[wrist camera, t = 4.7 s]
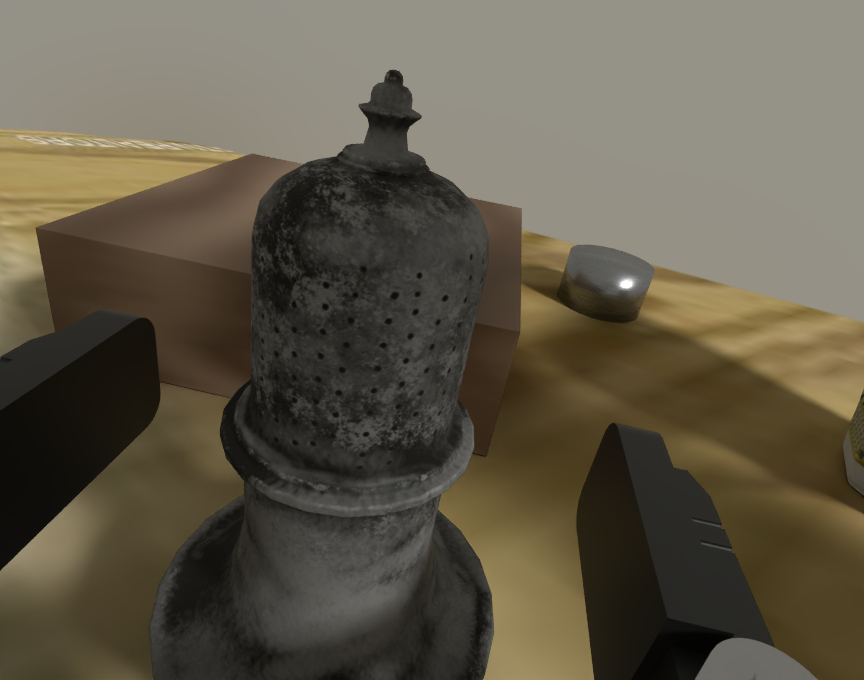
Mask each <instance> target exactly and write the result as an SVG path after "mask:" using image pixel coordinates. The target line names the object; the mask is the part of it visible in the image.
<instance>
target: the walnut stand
mask: <svg viewBox="0 0 864 680" xmlns="http://www.w3.org/2000/svg"><path fill="white" fill-rule="evenodd" d="M302 165H303V164H300V163H295V162H290V161H285V160H280V159H275V158H270V157H265V156H261V155H256V154H250V155H247V156H244V157H241V158H238V159H235V160H232V161H229V162H226V163H223V164H220V165H217V166H215V167H212V168H209V169H206V170H203V171H200V172H197V173H194V174H191V175H188V176H185V177H182V178H179V179H176V180H174V181H171V182H168V183H165V184H162V185H159V186H156V187H153V188H150V189H147V190H144V191H141V192H138V193H136V194H133V195H130V196H127V197H124V198H121V199H118V200H115V201H112V202H109V203H106V204H103V205H100V206H97V207H95V208H92V209H89V210H86V211H83V212H80V213H77V214H74V215H71V216H68V217H65V218H62V219H59V220H57V221H54V222H51V223H48V224H45V225H42V226H39V227H36V233H37V238H38V243H39V249H40V254H41V259H42V265H43V270H44V275H45V281H46V286H47V291H48V297H49V302H50V307H51V312H52V318H53V323H54V328H55V332H58V331H61V330H64V329H66V328H68V327H69V326H71V325H73V324H74V323H76V322H78V321H79V320H81V319H83V318H85V317H86V316H88V315H90V314H91V313H93V312H95V311H97V310H100V309H108V310H112V311H117V312H121V313H126V314H130V315H135V316H139V317H144V318H147V319H149V320H150V321H151V322H152V324H153V326H154V329H155V336H156V347H157V358H158V369H159V381H160V382H165V383H169V384H174V385H178V386H182V387H187V388H191V389H195V390H200V391H204V392H209V393H213V394H217V395H222V396H226V397H230V398H232V396H233V395H234V393H235V392H236V390H238V389H239V388H240V387H241V386H243V385H244V384H245V383H246V382H248V381H249V380H250V379H251V247H252V230H253V225H254V221H255V217H256V213H257V209H258V205H259V201H260V199H261V198H262V197H263V196H264V195H265V193H266V192H267V191H268V190H269V189H270V187H271V186H272V185H273V184H274V183H275V181H276V180H277V179H279V178H280V177H282V176H283V175H285V174H286V173H288V172H290V171H292V170H294V169H296V168H298V167H300V166H302ZM469 199H470V200H471V201H472V202H473V203H474V204H475V206H476V207H477V208H478V210H479V212H480V215H481V217H482V219H483V221H484V223H485V226H486V228H487V230H488V238H489V264H488V268H487V273H486V277H485V282H484V286H483V290H482V295H481V299H480V303H479V308H478V312H477V317H476V321H475V325H474V330H473V334H472V339H471V343H470V347H469V352H468V356H467V361H466V365H465V369H464V374H463V378H462V383H461V387H460V391H459V396H458V400H459V401H460V402H461V403H462V404H463V406H464V407H465V408H466V410H467V412H468V415H469V417H470V419H471V422H472V424H473V426H474V450H473V453H475V454H479V455H484V456H486V455H487V452H488V448H489V444H490V441H491V437H492V434H493V430H494V426H495V423H496V419H497V415H498V412H499V408H500V404H501V401H502V397H503V393H504V390H505V386H506V382H507V379H508V375H509V372H510V368H511V364H512V361H513V357H514V353H515V350H516V346H517V342H518V339H519V335H520V313H521V224H522V209H521V208H517V207H512V206H507V205H502V204H497V203H492V202H487V201H482V200H477V199H472V198H469Z"/></svg>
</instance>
